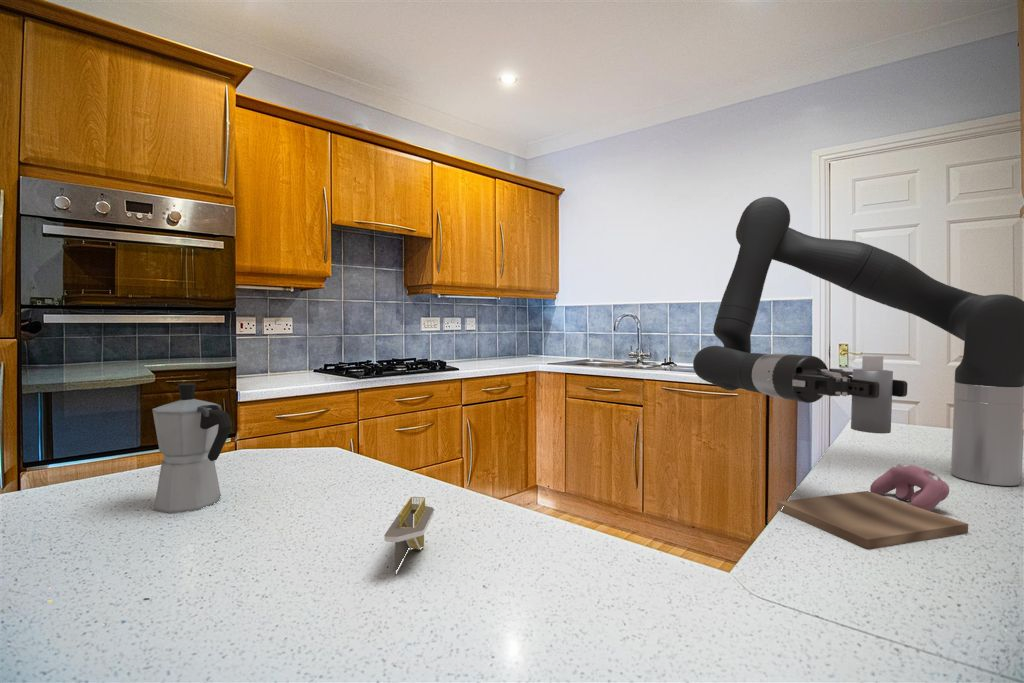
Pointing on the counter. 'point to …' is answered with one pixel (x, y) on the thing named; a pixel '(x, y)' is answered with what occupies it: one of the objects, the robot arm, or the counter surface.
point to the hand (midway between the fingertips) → (891, 389)
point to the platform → (409, 528)
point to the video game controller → (912, 486)
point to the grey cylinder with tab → (873, 411)
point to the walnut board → (871, 519)
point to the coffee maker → (189, 451)
